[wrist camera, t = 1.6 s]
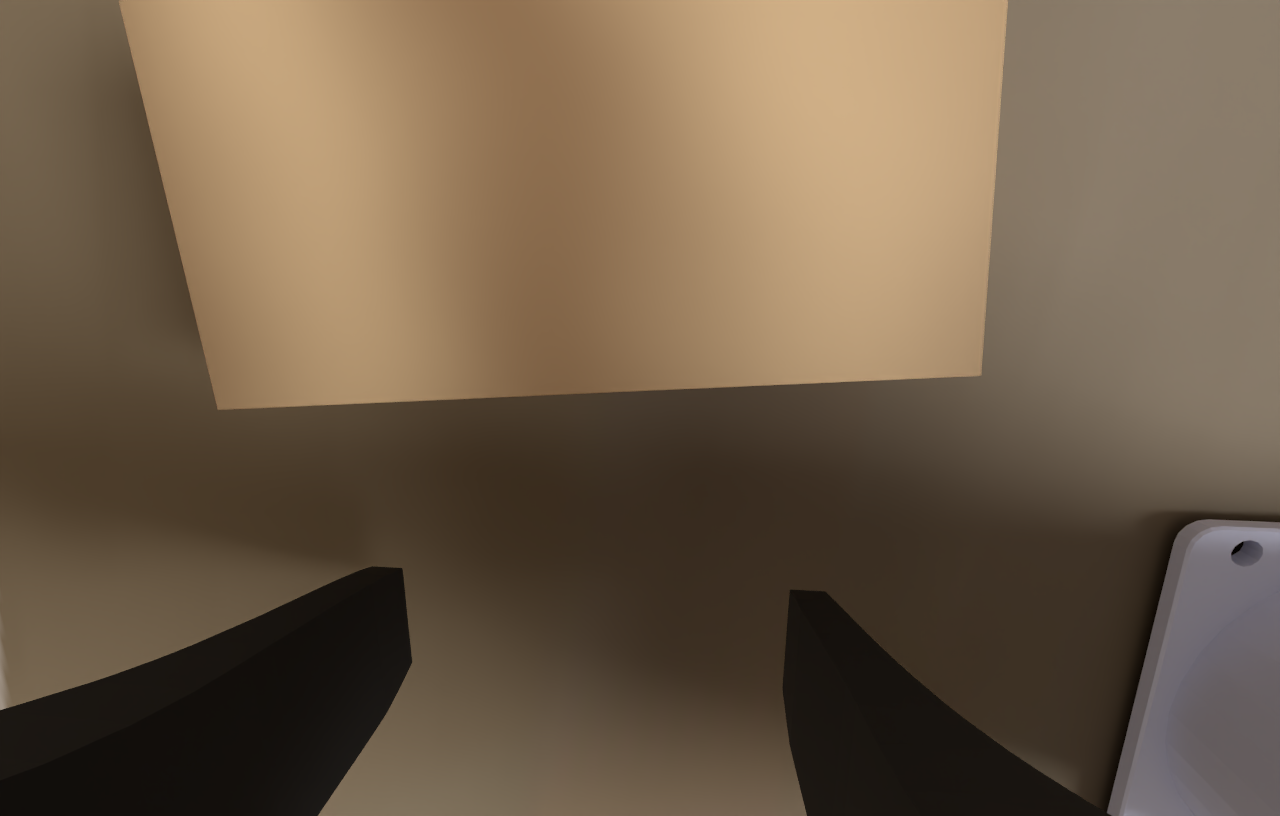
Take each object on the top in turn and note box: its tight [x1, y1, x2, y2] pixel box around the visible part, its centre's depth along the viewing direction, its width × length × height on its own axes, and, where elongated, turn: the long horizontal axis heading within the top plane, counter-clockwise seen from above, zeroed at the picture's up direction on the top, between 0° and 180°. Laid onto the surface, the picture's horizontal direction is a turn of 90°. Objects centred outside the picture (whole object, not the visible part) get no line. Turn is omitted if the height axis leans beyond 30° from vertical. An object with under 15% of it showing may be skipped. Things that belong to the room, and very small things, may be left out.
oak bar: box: [119, 0, 1008, 410], centre depth 9 cm, size 10×5×4 cm, turn 94°
